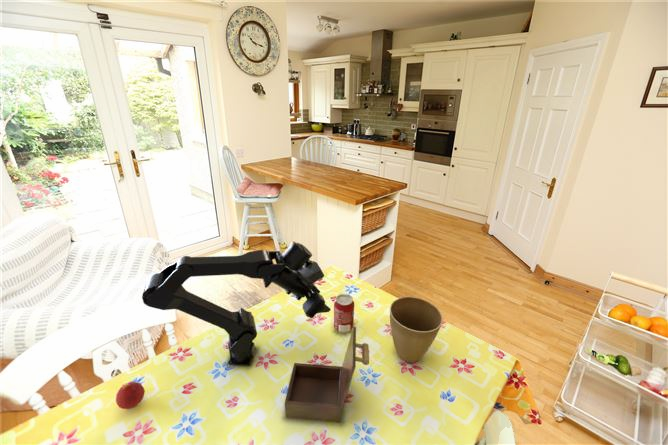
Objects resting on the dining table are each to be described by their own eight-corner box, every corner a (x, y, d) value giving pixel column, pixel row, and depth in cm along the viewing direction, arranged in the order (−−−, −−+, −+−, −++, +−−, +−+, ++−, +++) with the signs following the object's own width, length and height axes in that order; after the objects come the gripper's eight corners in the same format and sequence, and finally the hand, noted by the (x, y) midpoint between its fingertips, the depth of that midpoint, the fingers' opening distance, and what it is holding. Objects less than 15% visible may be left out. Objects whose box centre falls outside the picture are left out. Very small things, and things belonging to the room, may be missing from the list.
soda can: (351, 335, 96) (353, 307, 91) (331, 332, 97) (332, 304, 92) (354, 321, 102) (356, 294, 97) (335, 318, 103) (336, 291, 99)
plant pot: (414, 383, 81) (422, 340, 74) (375, 349, 91) (379, 309, 85) (443, 355, 89) (453, 315, 83) (404, 328, 100) (410, 290, 93)
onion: (142, 390, 78) (134, 368, 74) (151, 403, 74) (143, 382, 71) (117, 406, 74) (107, 384, 70) (125, 421, 70) (115, 399, 67)
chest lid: (352, 366, 63) (371, 370, 63) (353, 326, 73) (369, 330, 73) (339, 407, 68) (357, 410, 68) (342, 365, 79) (357, 368, 79)
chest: (285, 417, 72) (284, 403, 70) (295, 376, 82) (294, 362, 80) (340, 422, 71) (341, 408, 69) (342, 379, 81) (343, 366, 79)
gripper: (317, 276, 75) (354, 300, 84) (297, 244, 91) (330, 267, 99) (289, 308, 76) (328, 328, 84) (274, 270, 91) (308, 291, 100)
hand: (324, 301), depth 92 cm, fingers open, 9 cm apart
